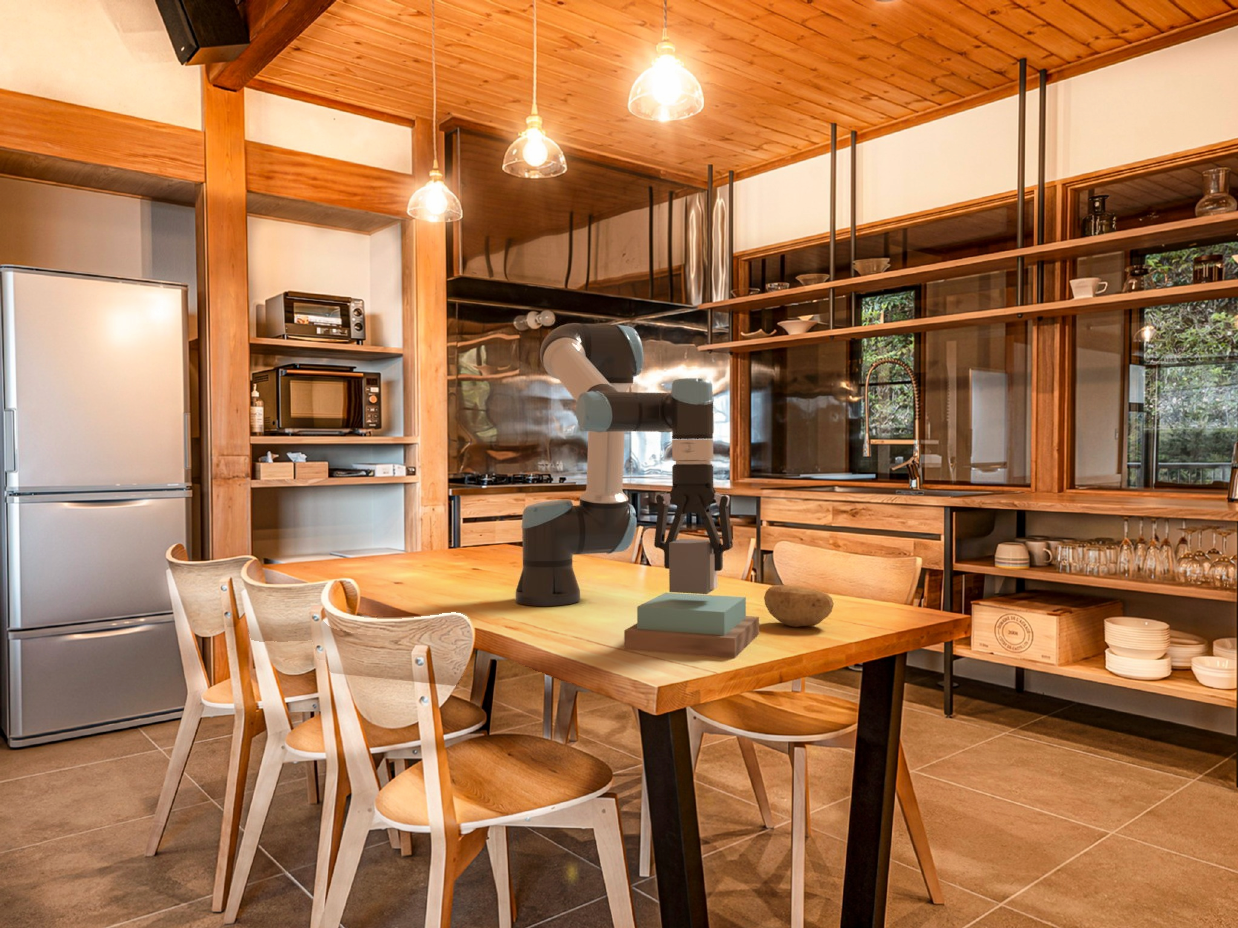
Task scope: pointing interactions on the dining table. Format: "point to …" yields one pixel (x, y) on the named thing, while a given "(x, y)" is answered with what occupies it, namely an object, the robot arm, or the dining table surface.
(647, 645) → the block bottom
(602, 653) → the dining table surface
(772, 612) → the potato
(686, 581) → the block
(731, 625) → the block top
